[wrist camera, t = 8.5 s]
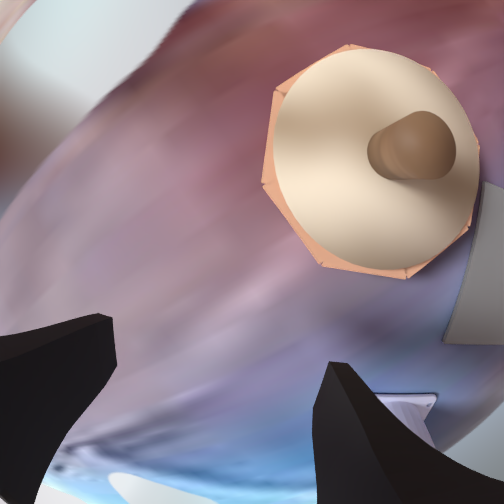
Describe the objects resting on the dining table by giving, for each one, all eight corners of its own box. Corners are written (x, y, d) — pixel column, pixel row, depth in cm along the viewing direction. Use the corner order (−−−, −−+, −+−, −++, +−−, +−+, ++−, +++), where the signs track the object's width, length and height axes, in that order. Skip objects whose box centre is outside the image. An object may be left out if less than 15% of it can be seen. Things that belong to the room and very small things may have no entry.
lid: (461, 271, 13) (509, 301, 9) (267, 258, 14) (258, 292, 10) (468, 81, 11) (514, 58, 6) (277, 43, 12) (271, -8, 7)
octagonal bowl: (431, 273, 17) (456, 290, 13) (254, 244, 18) (246, 258, 14) (454, 100, 14) (481, 88, 10) (280, 55, 15) (278, 29, 11)
